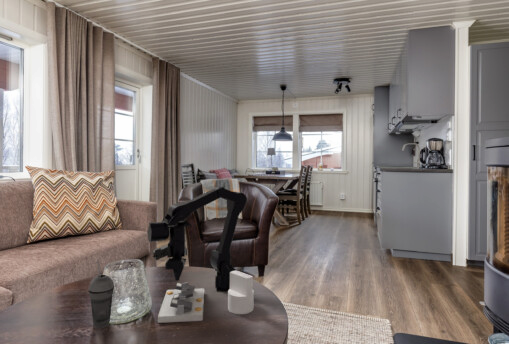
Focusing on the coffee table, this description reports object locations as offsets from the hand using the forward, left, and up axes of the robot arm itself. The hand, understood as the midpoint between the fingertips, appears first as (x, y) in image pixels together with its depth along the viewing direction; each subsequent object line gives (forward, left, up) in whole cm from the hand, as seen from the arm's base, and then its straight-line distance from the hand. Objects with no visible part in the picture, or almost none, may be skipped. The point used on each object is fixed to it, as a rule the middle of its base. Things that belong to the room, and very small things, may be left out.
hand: (177, 280), depth 118 cm
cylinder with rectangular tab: (-23, +10, -7) cm, 26 cm away
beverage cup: (+21, +17, -7) cm, 28 cm away
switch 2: (-3, +7, -3) cm, 8 cm away
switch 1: (-3, 0, -3) cm, 4 cm away
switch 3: (-3, +14, -3) cm, 15 cm away
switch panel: (-3, +7, -7) cm, 10 cm away
